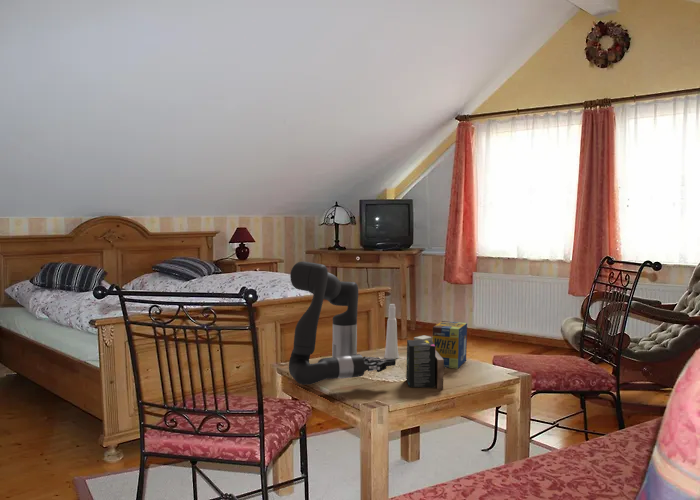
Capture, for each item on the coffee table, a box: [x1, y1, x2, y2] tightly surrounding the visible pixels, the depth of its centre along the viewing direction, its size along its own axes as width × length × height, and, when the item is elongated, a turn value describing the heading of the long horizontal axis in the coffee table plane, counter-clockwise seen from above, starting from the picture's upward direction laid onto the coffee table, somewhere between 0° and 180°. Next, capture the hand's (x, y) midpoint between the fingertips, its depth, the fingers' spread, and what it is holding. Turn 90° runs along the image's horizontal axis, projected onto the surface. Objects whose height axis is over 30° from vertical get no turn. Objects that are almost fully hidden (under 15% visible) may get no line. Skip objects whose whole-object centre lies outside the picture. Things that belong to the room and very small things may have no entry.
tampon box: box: [405, 339, 436, 389], centre depth 236 cm, size 11×9×15 cm
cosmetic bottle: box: [383, 303, 400, 360], centre depth 276 cm, size 6×6×22 cm
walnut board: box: [435, 350, 445, 390], centre depth 239 cm, size 2×18×10 cm, turn 3°
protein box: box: [432, 320, 468, 370], centre depth 267 cm, size 10×15×16 cm
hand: (394, 361), depth 234 cm, fingers closed
